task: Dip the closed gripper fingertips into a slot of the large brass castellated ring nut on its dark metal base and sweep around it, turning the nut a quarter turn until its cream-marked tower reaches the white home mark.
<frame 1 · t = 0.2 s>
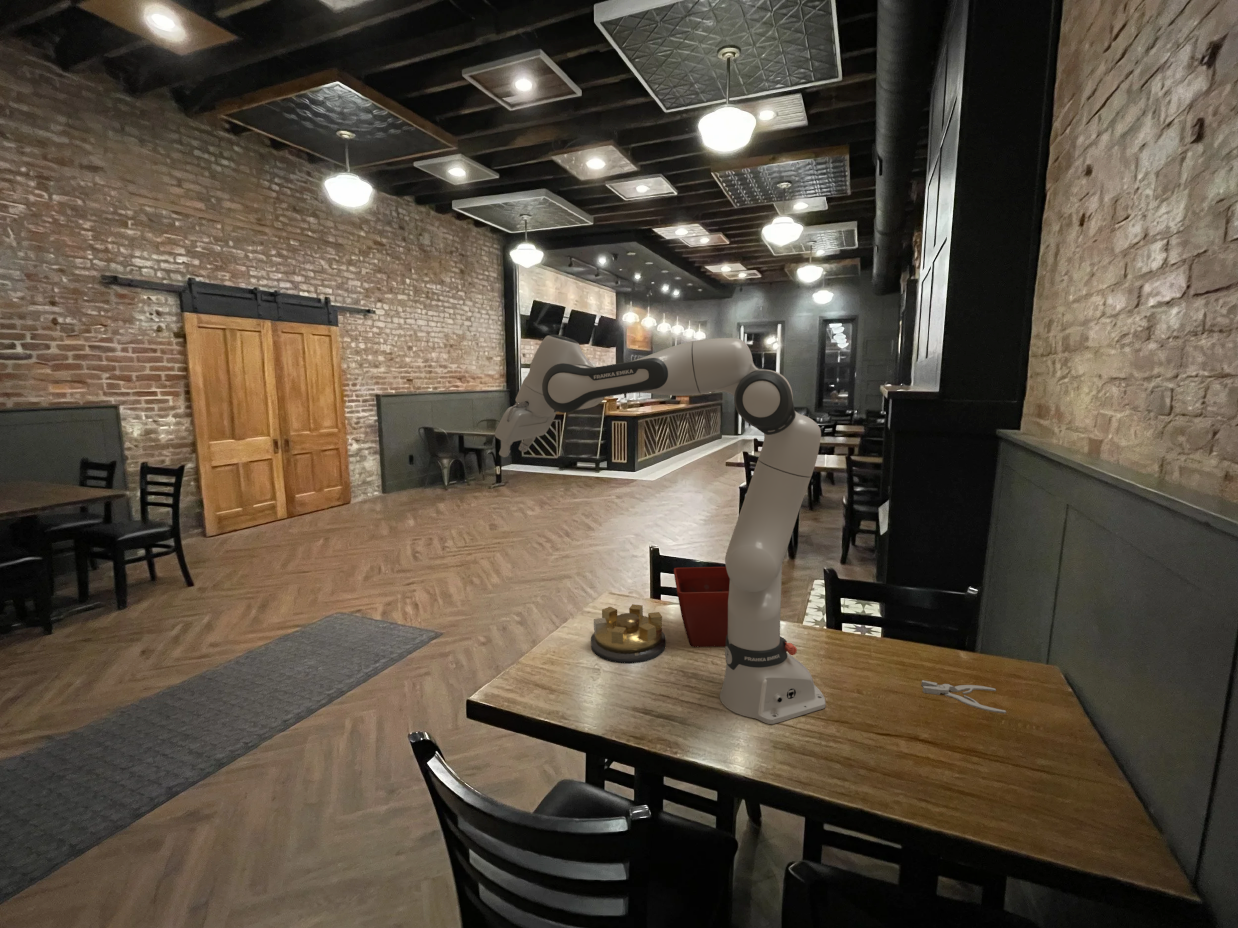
hand: (513, 453, 133), 54 cm above the table, tool tilted 30°, fingers open, 8 cm apart
plant pot: (710, 637, 155), on the table
nut base: (628, 644, 151), on the table
ring nut: (628, 627, 150), point 5 cm above the table, hinge at 0.0°
pliers: (960, 697, 124), on the table
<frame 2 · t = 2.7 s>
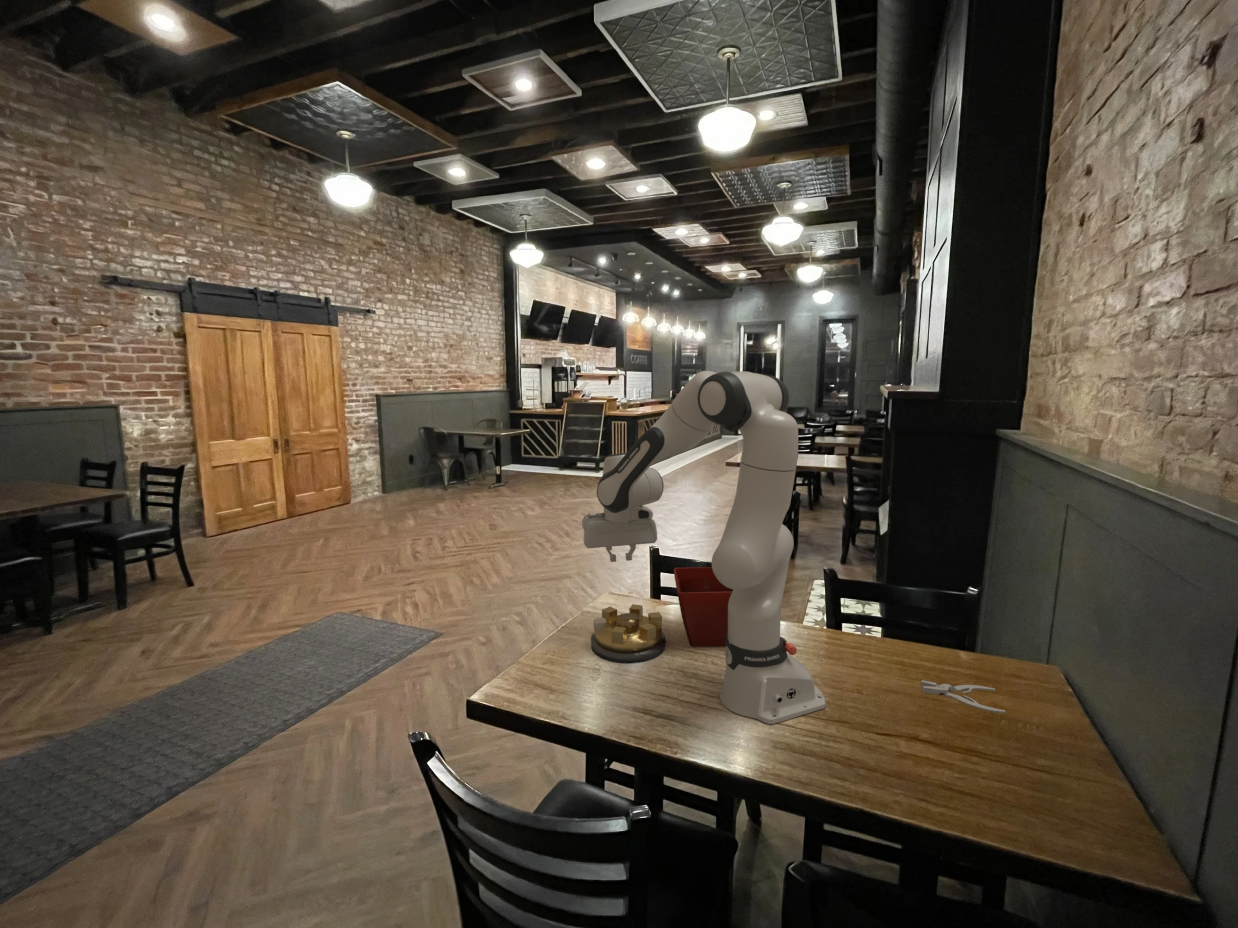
hand: (620, 560, 155), 21 cm above the table, tool pointing down, fingers open, 3 cm apart
nothing on the table moved.
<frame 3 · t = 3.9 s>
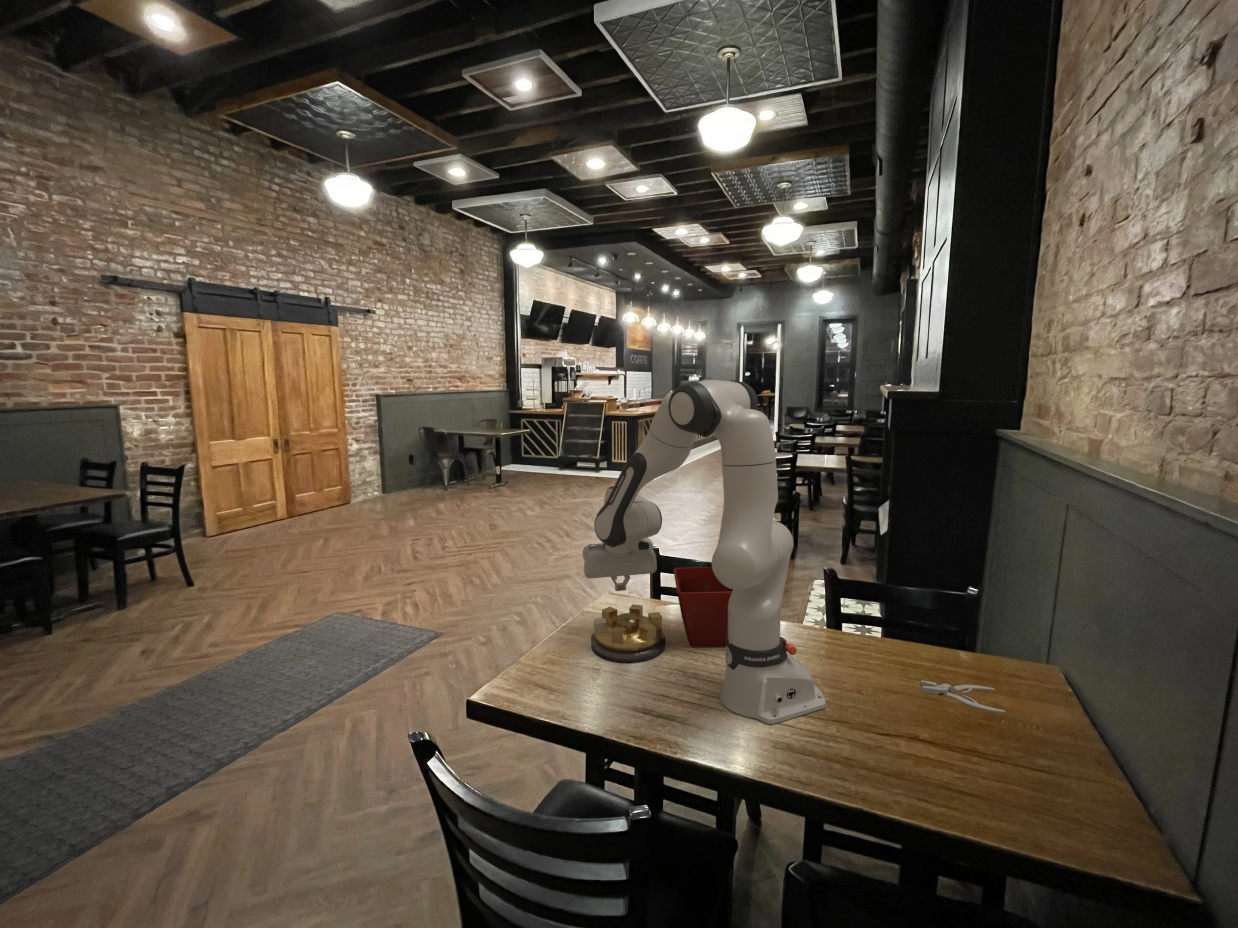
hand: (620, 590, 157), 12 cm above the table, tool pointing down, fingers closed
nothing on the table moved.
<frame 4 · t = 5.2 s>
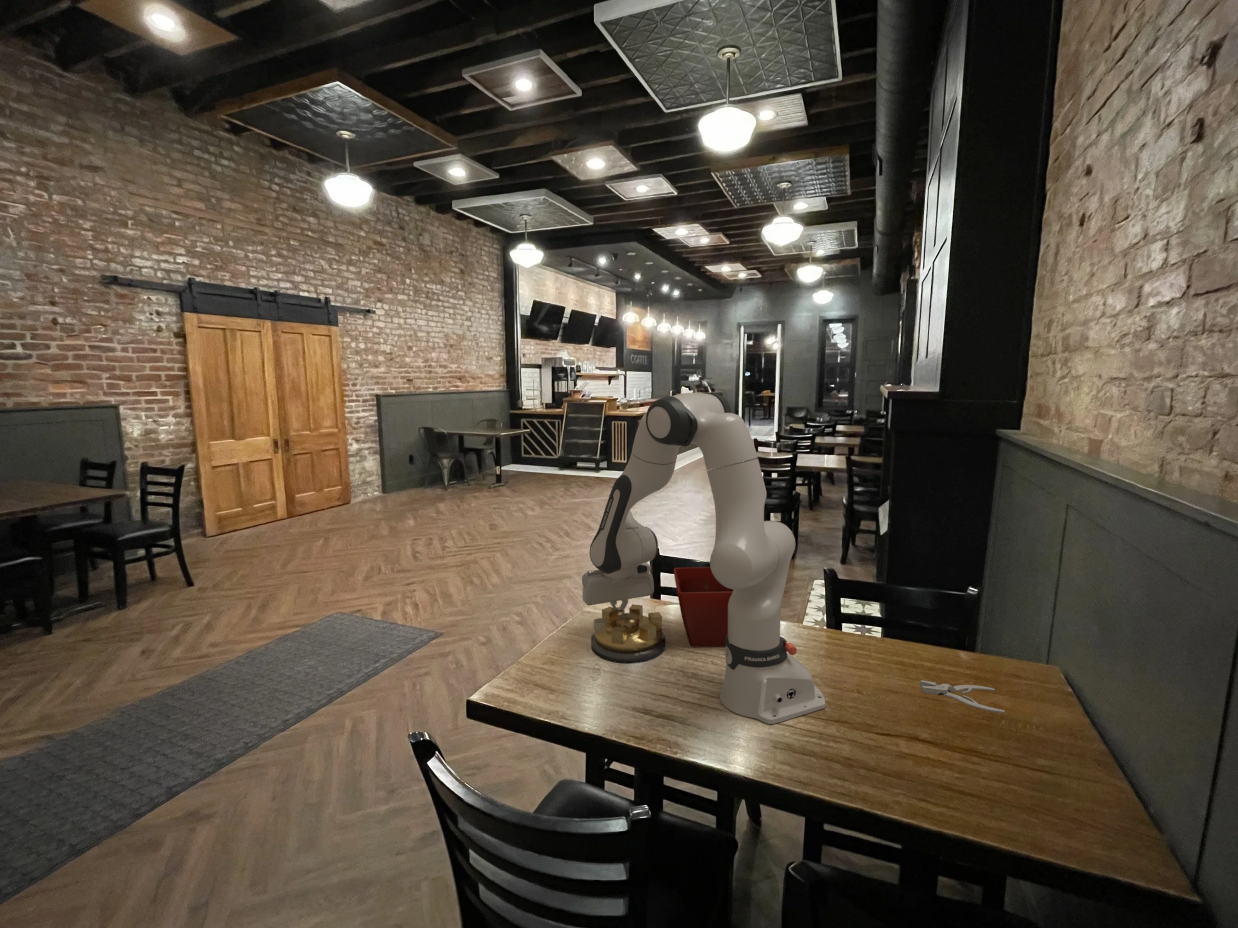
hand: (619, 614, 157), 6 cm above the table, tool pointing down, fingers closed
ring nut: (628, 627, 150), point 5 cm above the table, hinge at 0.0°, touching gripper
everything else where it was.
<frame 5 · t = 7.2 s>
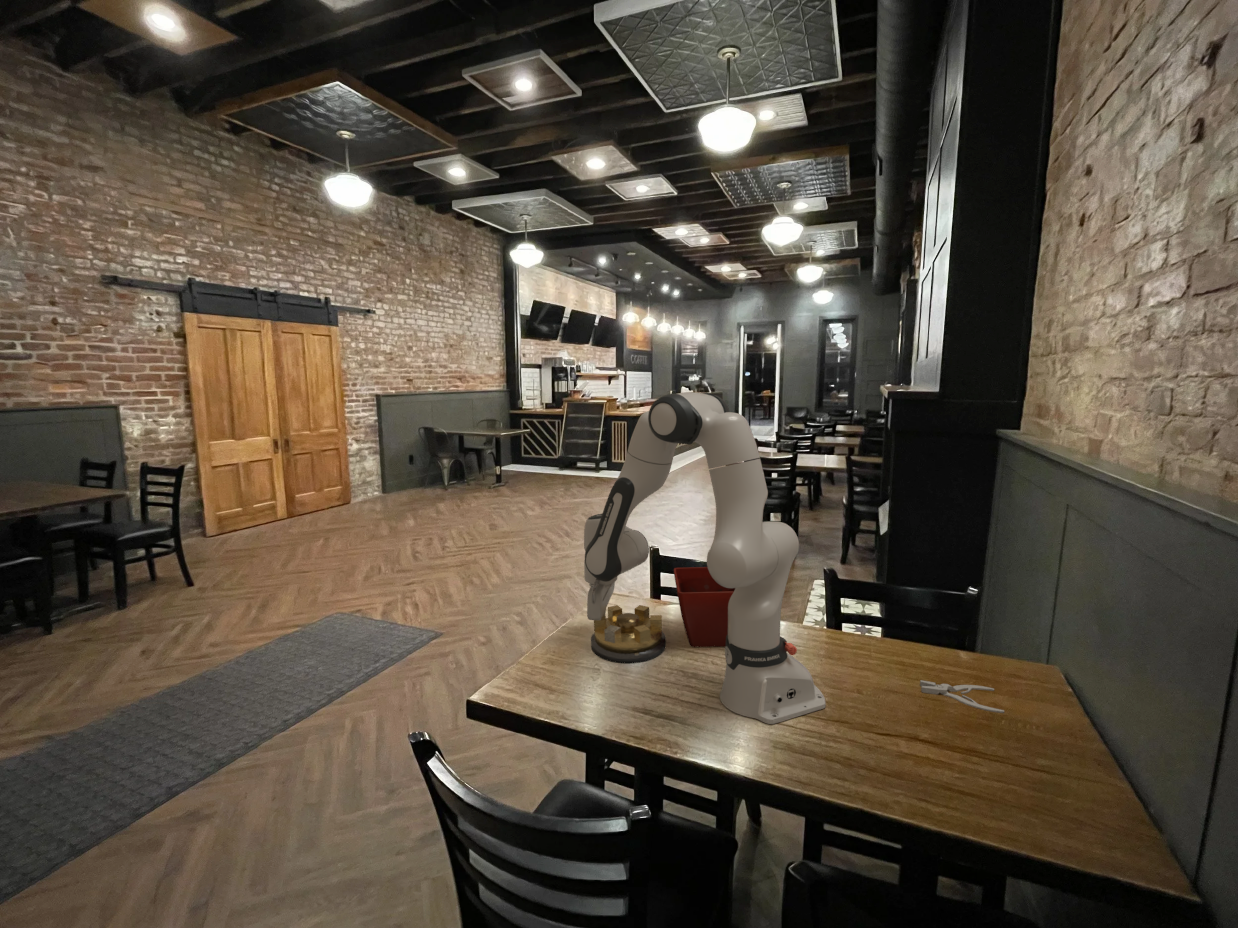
hand: (601, 621, 153), 6 cm above the table, tool pointing down, fingers closed, pressing on ring nut
ring nut: (628, 627, 150), point 5 cm above the table, hinge at 46.4°, touching gripper
everything else where it was.
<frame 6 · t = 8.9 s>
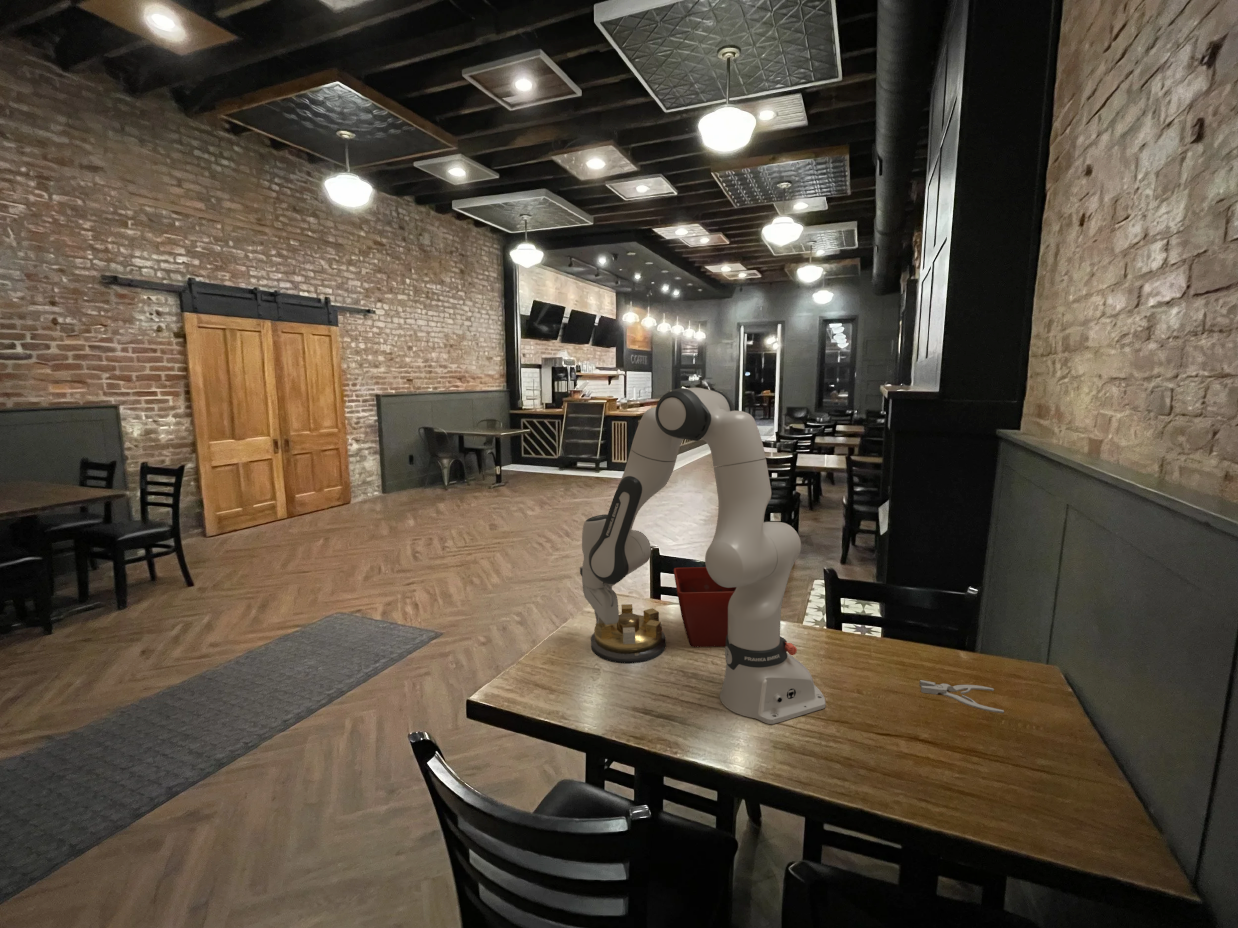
hand: (600, 626, 148), 6 cm above the table, tool pointing down, fingers closed, pressing on ring nut
ring nut: (628, 627, 150), point 5 cm above the table, hinge at 79.6°, touching gripper
everything else where it was.
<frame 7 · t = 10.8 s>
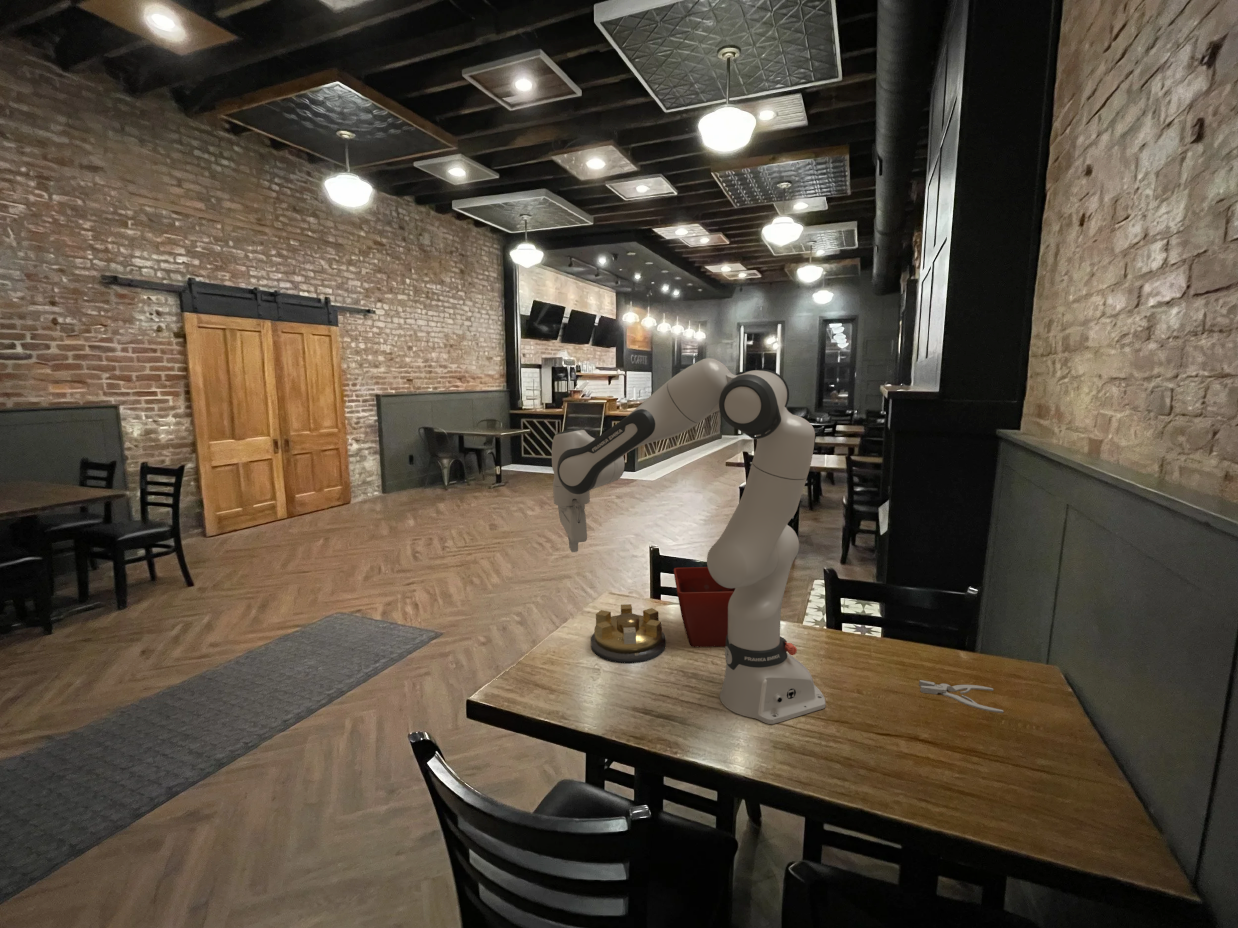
hand: (573, 550, 139), 29 cm above the table, tool pointing down, fingers closed
ring nut: (628, 627, 150), point 5 cm above the table, hinge at 80.9°
everything else where it was.
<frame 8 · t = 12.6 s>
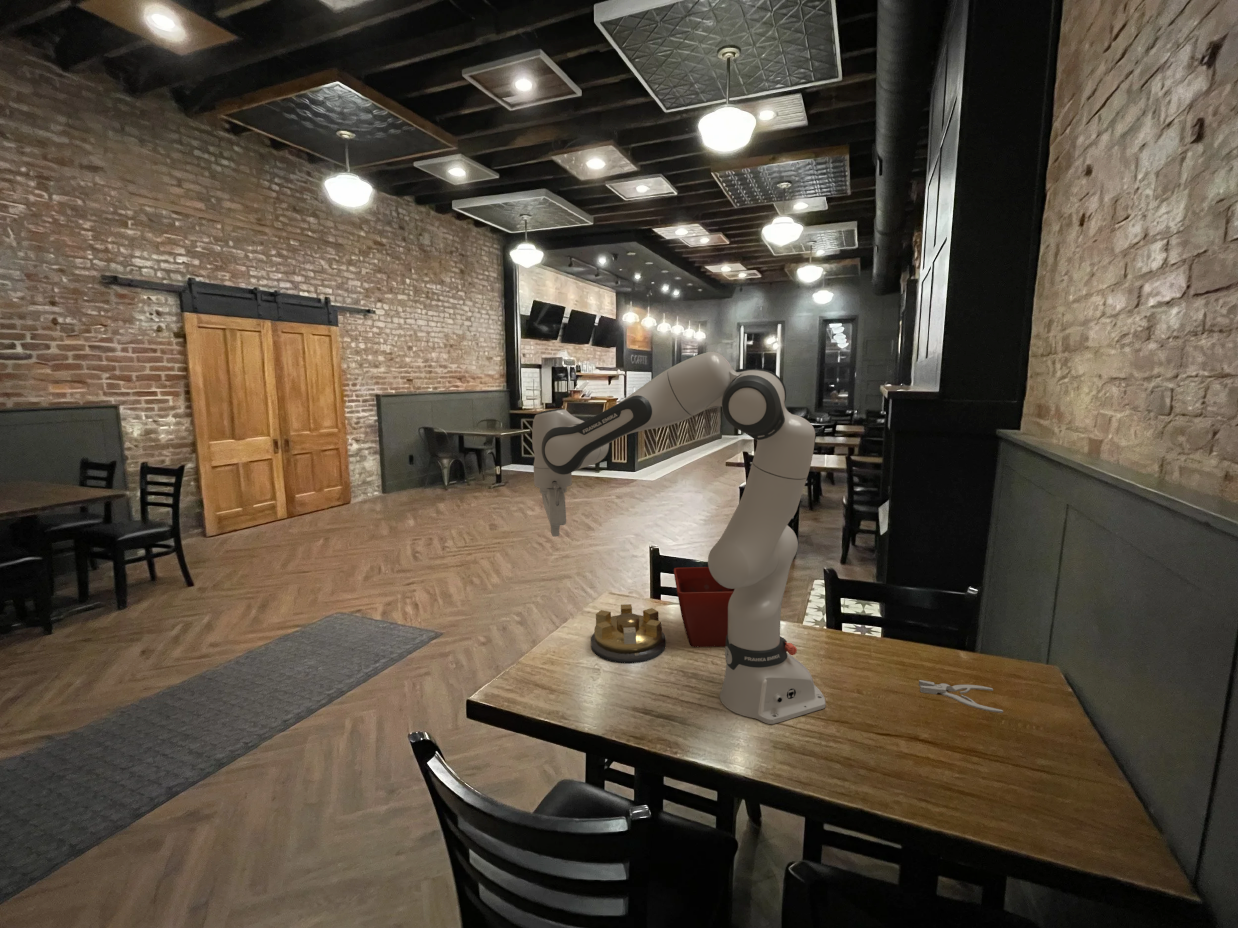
hand: (555, 534, 135), 34 cm above the table, tool pointing down, fingers closed
nothing on the table moved.
at the end: ring nut at +81° (first picture: +0°) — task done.
